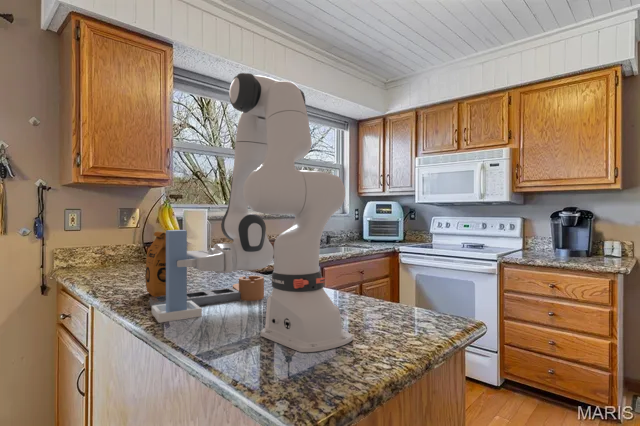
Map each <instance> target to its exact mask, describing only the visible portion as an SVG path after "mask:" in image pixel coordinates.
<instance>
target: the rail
mask: <svg viewBox="0 0 640 426" xmlns="http://www.w3.org/2000/svg"><path fill="white" fill-rule="evenodd" d="M187 301H193V302H194V303H195V304H196V305H198V306H199V307H200V306H206V305H214V304H221V303H227V302H234V301H242V300H241V292H239V291H237V290H235V289H233V287H225V288H223V287H222V288H216V289H208V290H207V289H205V290H198V291H190V292H187ZM161 304H166V295H163V296H155V297H153V296H149V306H150V308H151V309H152V306H153V305H161Z"/></svg>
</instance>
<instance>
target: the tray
mask: <svg viewBox="0 0 640 426" xmlns="http://www.w3.org/2000/svg"><path fill="white" fill-rule="evenodd" d="M202 309H203V308H202V307H200V306H198V305H196V304H195V303H194V302H193V301H187V310H181V311H174V312H167V313H166V304H161V305H153V306H152V308H151V315H152V316H153V317H154V318H155V320H156V321H157V323H158V324H159V323H167V322H172V321H179V320H186V319H187V320H188V319H192V318H197V317H202V316H203V310H202Z"/></svg>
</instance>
